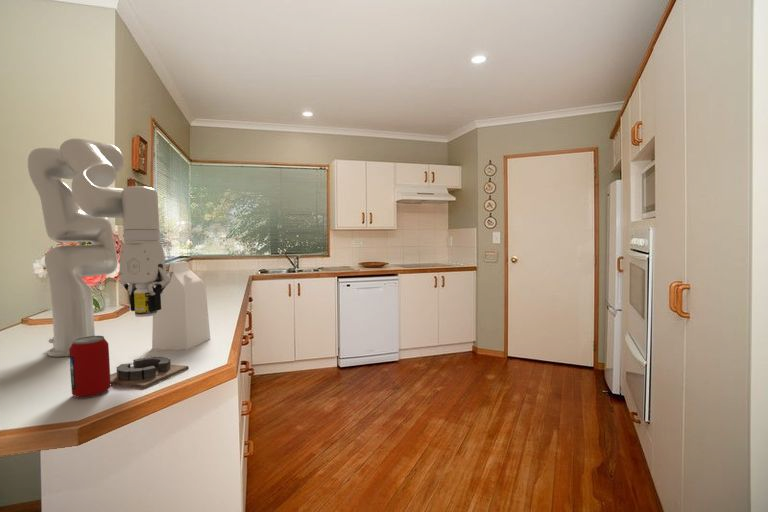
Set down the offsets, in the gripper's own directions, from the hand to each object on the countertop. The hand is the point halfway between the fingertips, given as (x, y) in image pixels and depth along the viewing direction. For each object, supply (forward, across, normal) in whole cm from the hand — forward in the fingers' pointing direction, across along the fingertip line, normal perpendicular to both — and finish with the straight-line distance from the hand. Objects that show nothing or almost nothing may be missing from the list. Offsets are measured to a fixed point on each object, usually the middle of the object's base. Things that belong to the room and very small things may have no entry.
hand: (146, 309), depth 95 cm
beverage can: (+16, -1, -14) cm, 21 cm away
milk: (+16, -11, +23) cm, 30 cm away
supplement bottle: (+2, 0, 0) cm, 2 cm away
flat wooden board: (+16, +1, -3) cm, 16 cm away
